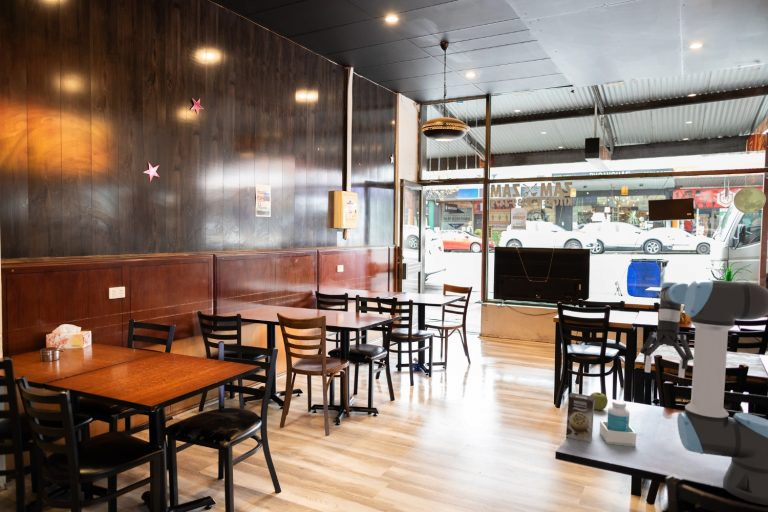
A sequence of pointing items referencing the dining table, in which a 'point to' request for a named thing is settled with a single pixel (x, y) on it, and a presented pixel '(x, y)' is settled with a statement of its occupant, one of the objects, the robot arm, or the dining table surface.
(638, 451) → the dining table surface
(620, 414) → the pill bottle
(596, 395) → the apple
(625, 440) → the holder
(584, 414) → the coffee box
